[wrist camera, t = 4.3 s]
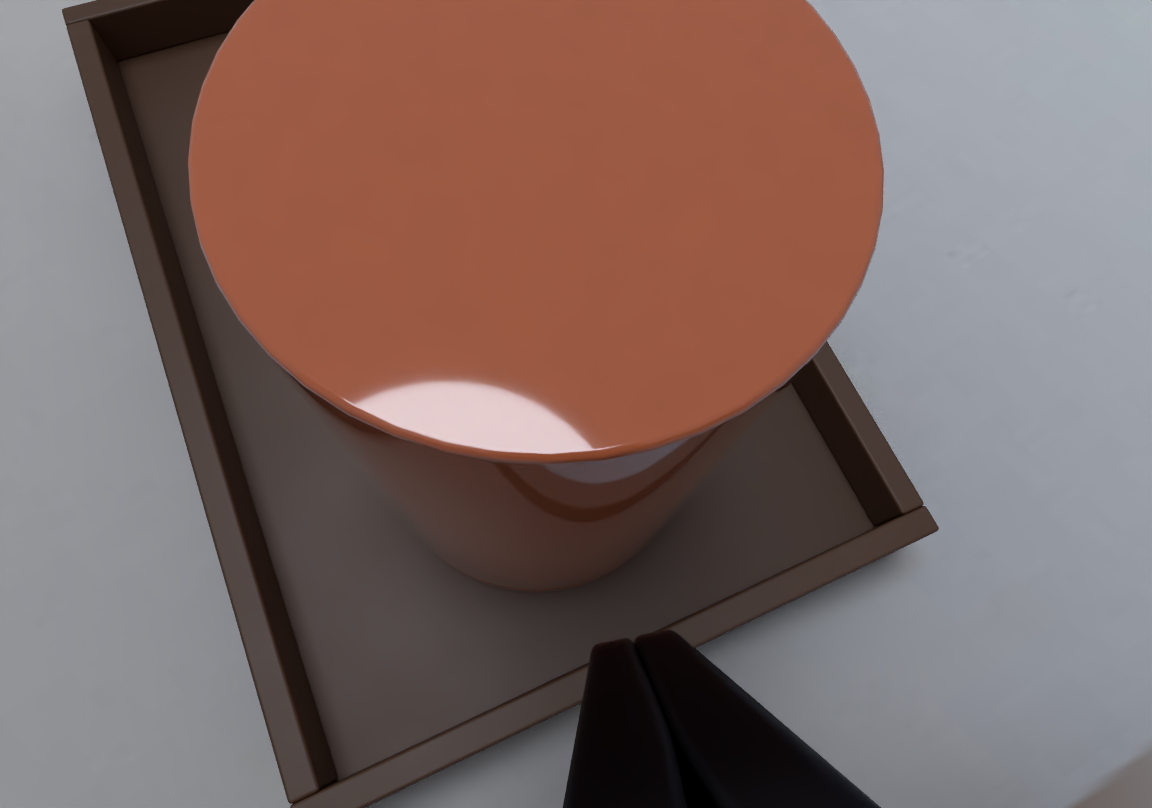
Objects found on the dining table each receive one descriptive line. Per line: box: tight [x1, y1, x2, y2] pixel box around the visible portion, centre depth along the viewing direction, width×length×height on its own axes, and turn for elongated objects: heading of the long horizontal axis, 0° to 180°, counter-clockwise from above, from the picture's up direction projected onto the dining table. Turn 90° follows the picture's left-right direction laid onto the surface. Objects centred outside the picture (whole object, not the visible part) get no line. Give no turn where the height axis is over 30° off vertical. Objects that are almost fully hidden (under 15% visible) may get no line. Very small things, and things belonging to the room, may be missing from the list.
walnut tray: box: [62, 0, 939, 808], centre depth 19 cm, size 21×14×2 cm
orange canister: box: [188, 0, 884, 594], centre depth 13 cm, size 7×7×11 cm
